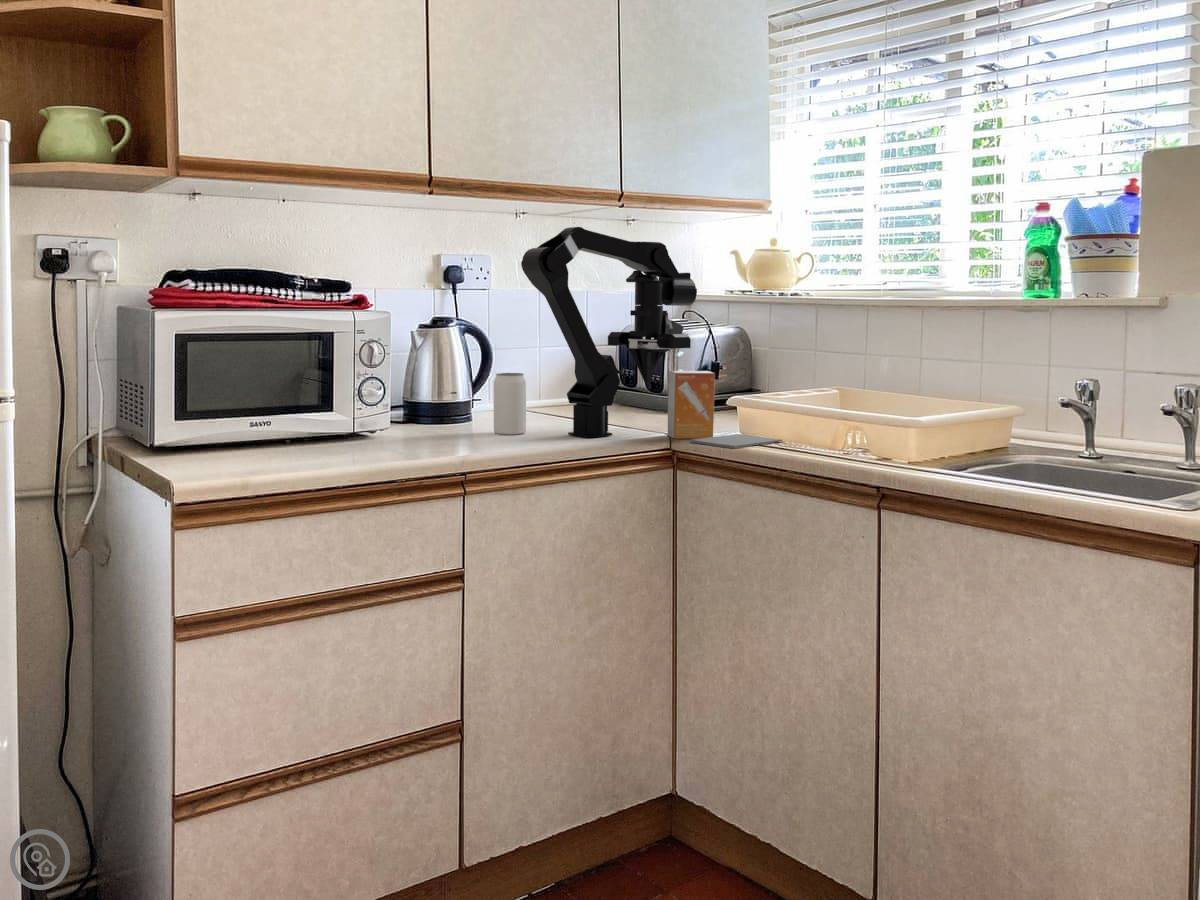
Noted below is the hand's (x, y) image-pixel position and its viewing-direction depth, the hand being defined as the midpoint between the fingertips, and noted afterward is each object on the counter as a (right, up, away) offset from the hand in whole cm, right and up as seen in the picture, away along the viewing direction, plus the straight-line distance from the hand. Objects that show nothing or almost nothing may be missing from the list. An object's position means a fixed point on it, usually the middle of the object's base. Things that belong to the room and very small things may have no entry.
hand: (647, 382), depth 218 cm
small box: (+8, -12, -7) cm, 16 cm away
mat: (+16, -12, -15) cm, 25 cm away
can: (-28, -11, -4) cm, 30 cm away
